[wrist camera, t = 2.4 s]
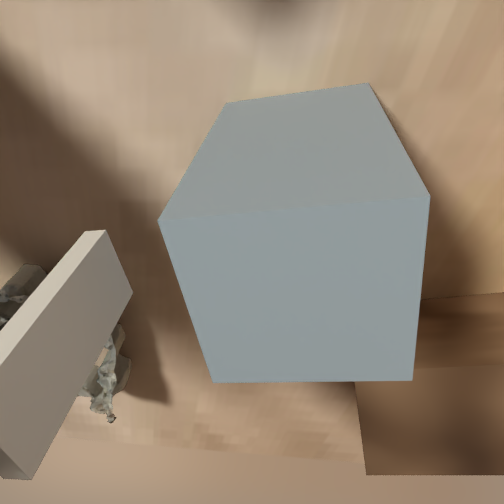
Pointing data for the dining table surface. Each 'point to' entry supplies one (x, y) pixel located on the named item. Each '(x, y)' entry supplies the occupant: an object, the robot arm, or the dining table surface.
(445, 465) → the walnut block
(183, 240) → the slate block
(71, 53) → the dining table surface
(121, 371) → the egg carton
